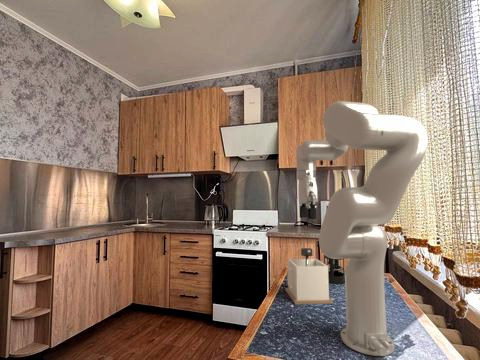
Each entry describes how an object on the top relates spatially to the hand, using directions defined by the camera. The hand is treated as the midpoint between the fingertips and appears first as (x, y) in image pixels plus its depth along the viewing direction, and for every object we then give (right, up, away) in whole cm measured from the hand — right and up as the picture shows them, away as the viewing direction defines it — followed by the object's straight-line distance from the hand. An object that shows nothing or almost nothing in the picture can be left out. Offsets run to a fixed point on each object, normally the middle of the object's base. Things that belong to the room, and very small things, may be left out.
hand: (307, 218), depth 100 cm
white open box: (0, -30, -2) cm, 30 cm away
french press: (+17, -32, +17) cm, 40 cm away
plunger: (0, -27, -2) cm, 27 cm away
